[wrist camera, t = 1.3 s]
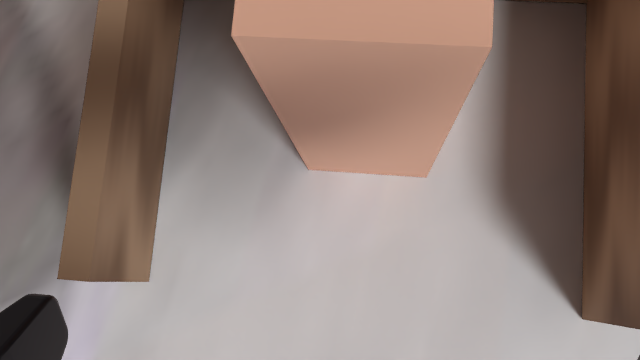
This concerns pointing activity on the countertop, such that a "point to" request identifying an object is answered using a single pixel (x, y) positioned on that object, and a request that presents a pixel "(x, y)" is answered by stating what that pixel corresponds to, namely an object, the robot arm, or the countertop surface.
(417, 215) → the countertop surface
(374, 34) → the block
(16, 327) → the robot arm
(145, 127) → the brown u-shaped piece
